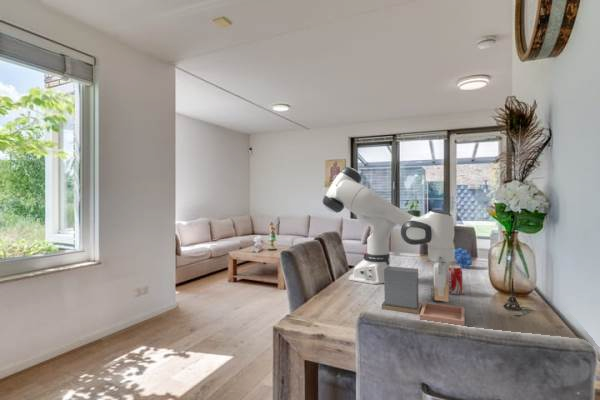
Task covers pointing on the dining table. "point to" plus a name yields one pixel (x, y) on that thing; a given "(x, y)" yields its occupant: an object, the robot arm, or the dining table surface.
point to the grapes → (462, 258)
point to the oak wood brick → (446, 293)
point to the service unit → (401, 290)
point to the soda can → (455, 279)
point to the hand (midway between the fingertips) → (441, 293)
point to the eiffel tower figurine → (513, 301)
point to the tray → (442, 313)
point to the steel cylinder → (434, 296)
